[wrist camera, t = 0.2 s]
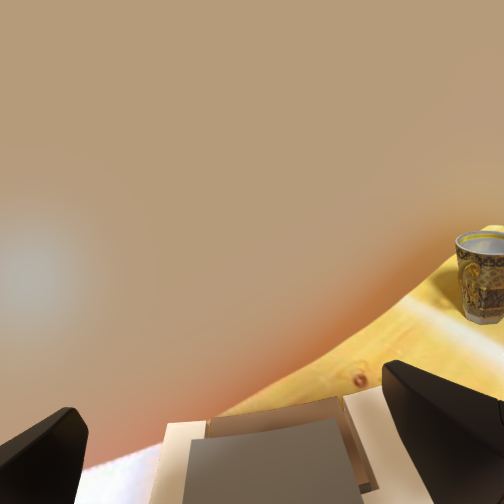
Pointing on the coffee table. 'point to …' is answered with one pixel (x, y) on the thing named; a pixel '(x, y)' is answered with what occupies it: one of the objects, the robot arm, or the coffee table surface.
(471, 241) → the ceramic cup
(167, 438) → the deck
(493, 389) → the coffee table surface
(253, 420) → the trapdoor
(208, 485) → the stone
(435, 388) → the robot arm
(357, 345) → the coffee table surface
